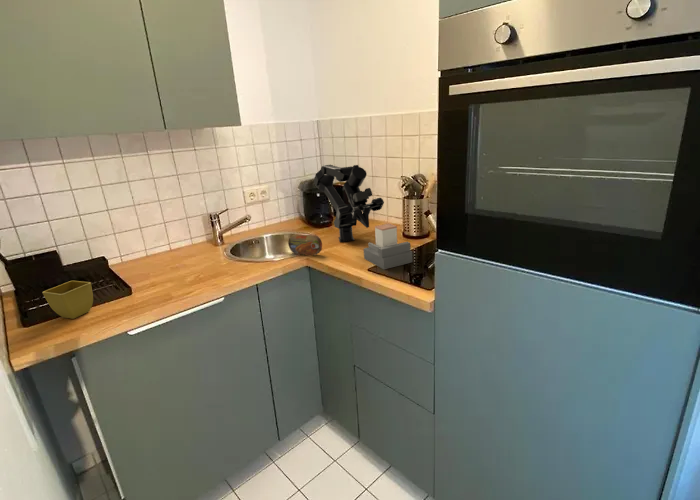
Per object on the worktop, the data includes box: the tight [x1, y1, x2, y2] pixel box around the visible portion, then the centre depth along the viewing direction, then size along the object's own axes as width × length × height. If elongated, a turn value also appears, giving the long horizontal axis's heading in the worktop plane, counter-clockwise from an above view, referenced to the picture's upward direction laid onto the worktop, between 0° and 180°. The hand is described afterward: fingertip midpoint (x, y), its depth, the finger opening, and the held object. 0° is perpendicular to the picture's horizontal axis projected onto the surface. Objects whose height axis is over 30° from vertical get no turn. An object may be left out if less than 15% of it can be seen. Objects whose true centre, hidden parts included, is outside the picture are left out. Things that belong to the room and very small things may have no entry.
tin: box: [287, 232, 323, 256], centre depth 151 cm, size 15×3×8 cm, turn 62°
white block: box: [374, 223, 398, 248], centre depth 136 cm, size 5×6×9 cm
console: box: [363, 241, 413, 270], centre depth 137 cm, size 14×12×7 cm
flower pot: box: [42, 280, 94, 319], centre depth 110 cm, size 9×9×9 cm
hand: (368, 227), depth 146 cm, fingers closed
